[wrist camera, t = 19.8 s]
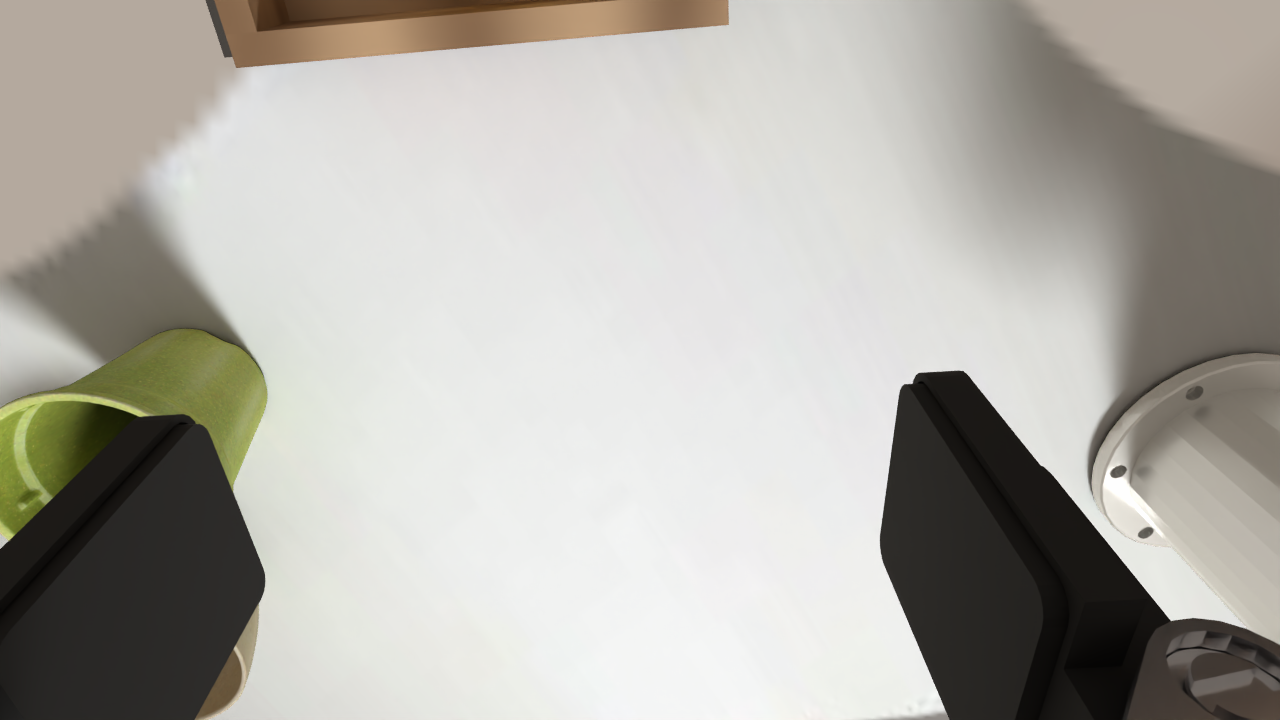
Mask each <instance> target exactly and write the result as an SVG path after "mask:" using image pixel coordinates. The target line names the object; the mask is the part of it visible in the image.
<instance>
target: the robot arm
mask: <svg viewBox="0 0 1280 720" xmlns="http://www.w3.org/2000/svg"><path fill="white" fill-rule="evenodd" d="M1091 484H1092V491H1093V497H1094V500H1095V502H1096V504H1097V506H1098V508H1099V510H1100V512H1101V513H1102V514H1103V515H1104V517H1105V518H1106V519H1107V520H1108V521H1109V523H1110V524H1111V525H1112V526H1113V527H1114V528H1115V529H1116V530H1117V531H1119V532H1120V533H1121V534H1122V535H1124V536H1125V537H1127V538H1129V539H1131V540H1133V541H1135V542H1138V543H1142V544H1147V545H1151V546H1155V547H1172V548H1173V550H1174V551H1175V552H1176V553H1177V554H1178V555H1179V556H1180V557H1181V558H1182V559H1183V560H1184V561H1185V562H1186V564H1187V565H1188V566H1189V567H1190V568H1191V569H1192V570H1193V571H1194V572H1195V573H1196V574H1197V575H1198V576H1199V578H1200V579H1201V580H1202V581H1203V582H1204V583H1205V584H1206V585H1207V586H1208V587H1209V588H1210V589H1211V590H1212V592H1213V593H1214V594H1215V595H1216V596H1217V597H1218V598H1219V599H1220V600H1221V601H1222V602H1223V603H1224V604H1225V606H1226V607H1227V608H1228V609H1229V610H1230V611H1231V612H1232V613H1233V614H1234V615H1235V616H1236V617H1237V618H1238V620H1239V621H1240V622H1241V623H1242V624H1243V625H1244V626H1245V627H1246V628H1247V629H1245V628H1241V627H1238V626H1235V625H1231V624H1228V623H1225V622H1221V621H1215V620H1206V619H1197V618H1190V619H1182V620H1174V621H1170V619H1169V618H1168V617H1167V616H1166V615H1165V613H1164V612H1163V611H1162V610H1161V608H1160V607H1159V606H1158V605H1157V603H1156V602H1155V601H1154V600H1153V599H1152V597H1151V596H1150V595H1149V594H1148V592H1147V591H1146V590H1145V589H1144V587H1143V586H1142V585H1141V584H1140V582H1139V581H1138V580H1137V579H1136V578H1135V576H1134V575H1133V574H1132V573H1131V571H1130V570H1129V569H1128V568H1127V566H1126V565H1125V564H1124V563H1123V562H1122V560H1121V559H1120V558H1119V557H1118V555H1117V554H1116V553H1115V552H1114V550H1113V549H1112V548H1111V547H1110V545H1109V544H1108V543H1107V542H1106V541H1105V539H1104V538H1103V537H1102V536H1101V534H1100V533H1099V532H1098V531H1097V529H1096V528H1095V527H1094V526H1093V525H1092V523H1091V522H1090V521H1089V520H1088V518H1087V517H1086V516H1085V515H1084V513H1083V512H1082V511H1081V510H1080V509H1079V507H1078V506H1077V505H1076V504H1075V502H1074V501H1073V500H1072V499H1071V497H1070V496H1069V495H1068V494H1067V492H1066V491H1065V490H1064V489H1063V488H1062V486H1061V485H1060V484H1059V483H1058V481H1057V480H1056V479H1055V478H1054V476H1053V475H1052V474H1051V473H1050V472H1049V471H1048V470H1047V469H1045V468H1044V467H1043V466H1040V464H1039V463H1038V462H1037V461H1036V459H1035V458H1034V457H1033V456H1032V454H1031V453H1030V452H1029V451H1028V449H1027V448H1026V447H1025V446H1024V445H1023V443H1022V442H1021V441H1020V440H1019V438H1018V437H1017V436H1016V435H1015V433H1014V432H1013V431H1012V430H1011V428H1010V427H1009V426H1008V425H1007V423H1006V422H1005V421H1004V420H1003V418H1002V417H1001V416H1000V415H999V413H998V412H997V411H996V410H995V408H994V407H993V406H992V405H991V403H990V402H989V401H988V400H987V398H986V397H985V396H984V395H983V393H982V392H981V391H980V390H979V388H978V387H977V386H976V385H975V383H974V382H973V381H972V380H971V378H970V377H969V376H968V375H967V374H966V373H965V372H964V371H945V372H927V373H918V374H917V375H916V376H915V378H914V380H913V384H904V385H903V386H902V388H901V390H900V394H899V400H898V407H897V415H896V422H895V430H894V437H893V444H892V452H891V459H890V467H889V474H888V481H887V489H886V496H885V504H884V511H883V518H882V526H881V533H880V549H881V555H882V560H883V563H884V566H885V568H886V570H887V573H888V575H889V578H890V580H891V582H892V585H893V587H894V589H895V592H896V594H897V596H898V599H899V601H900V604H901V606H902V608H903V611H904V613H905V615H906V618H907V620H908V622H909V625H910V627H911V630H912V632H913V634H914V637H915V639H916V641H917V644H918V646H919V648H920V651H921V653H922V656H923V658H924V660H925V663H926V665H927V667H928V670H929V672H930V674H931V677H932V679H933V682H934V684H935V686H936V689H937V691H938V693H939V696H940V698H941V700H942V703H943V705H944V708H945V710H946V712H947V715H948V717H949V719H950V720H1280V355H1274V354H1262V353H1251V354H1240V355H1231V356H1227V357H1223V358H1219V359H1215V360H1211V361H1207V362H1205V363H1202V364H1200V365H1197V366H1195V367H1192V368H1190V369H1187V370H1185V371H1183V372H1181V373H1179V374H1177V375H1175V376H1173V377H1172V378H1170V379H1168V380H1166V381H1164V382H1162V383H1161V384H1159V385H1158V386H1157V387H1155V388H1154V389H1152V390H1151V391H1150V392H1148V393H1147V394H1145V395H1144V396H1143V397H1141V398H1140V399H1139V400H1138V401H1137V402H1136V403H1135V404H1134V405H1133V406H1132V407H1131V408H1129V409H1128V410H1127V411H1126V412H1125V413H1124V414H1123V415H1122V417H1121V418H1120V419H1119V420H1118V422H1117V423H1116V424H1115V425H1114V427H1113V428H1112V429H1111V430H1110V432H1109V433H1108V435H1107V437H1106V439H1105V440H1104V442H1103V444H1102V446H1101V447H1100V449H1099V452H1098V455H1097V457H1096V460H1095V463H1094V466H1093V473H1092V483H1091ZM264 588H265V573H264V569H263V567H262V564H261V562H260V559H259V557H258V554H257V551H256V549H255V546H254V544H253V541H252V539H251V536H250V534H249V531H248V529H247V526H246V524H245V521H244V519H243V516H242V514H241V511H240V509H239V506H238V504H237V501H236V499H235V496H234V494H233V491H232V489H231V486H230V484H229V481H228V479H227V476H226V474H225V471H224V469H223V466H222V464H221V461H220V459H219V456H218V454H217V451H216V449H215V446H214V444H213V441H212V438H211V436H210V434H209V432H208V430H207V428H205V427H204V426H203V425H201V424H196V423H195V421H194V420H193V419H192V418H191V417H190V416H188V415H185V414H175V415H157V416H142V417H137V418H136V419H134V420H133V421H131V422H130V423H129V424H128V425H127V426H126V427H125V428H124V429H123V430H122V431H121V432H120V433H119V434H118V435H117V436H116V437H115V438H114V439H113V440H112V441H111V442H110V443H109V444H108V445H107V446H106V447H105V448H104V449H103V450H101V451H100V452H99V453H98V454H97V455H96V456H95V457H94V458H93V459H92V460H91V461H90V462H89V463H88V464H87V465H86V466H85V467H84V468H83V469H82V470H81V471H80V472H79V473H78V474H77V475H76V476H75V477H74V478H73V479H72V480H71V481H70V482H69V483H68V484H67V485H66V486H65V487H64V488H63V489H62V490H60V491H59V492H58V493H57V494H56V495H55V496H54V497H53V498H52V499H51V500H50V501H49V502H48V503H47V504H46V505H45V506H44V507H43V508H42V509H41V510H40V511H39V512H38V513H37V514H36V515H35V516H34V517H33V518H32V519H31V520H30V521H29V522H28V523H27V524H26V525H25V526H24V527H23V528H22V529H21V530H19V531H18V532H17V533H16V534H15V535H14V536H13V537H12V538H11V539H10V540H9V541H8V542H7V543H6V544H5V545H4V546H3V547H2V548H1V549H0V720H195V718H196V716H197V715H198V713H199V711H200V709H201V707H202V706H203V704H204V702H205V700H206V698H207V696H208V695H209V693H210V691H211V689H212V687H213V686H214V684H215V682H216V680H217V678H218V676H219V675H220V673H221V671H222V669H223V667H224V666H225V664H226V662H227V660H228V658H229V656H230V655H231V653H232V651H233V649H234V647H235V646H236V644H237V642H238V640H239V638H240V636H241V635H242V633H243V631H244V629H245V627H246V625H247V624H248V622H249V620H250V618H251V616H252V615H253V613H254V611H255V609H256V607H257V605H258V604H259V602H260V600H261V598H262V595H263V592H264Z"/></svg>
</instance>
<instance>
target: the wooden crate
mask: <svg viewBox="0 0 1280 720" xmlns="http://www.w3.org/2000/svg"><path fill="white" fill-rule="evenodd" d="M214 1H215V4H216V7H217V10H218V13H219V16H220V19H221V22H222V25H223V29H224V32H225V35H226V38H227V41H228V44H229V47H230V50H231V53H232V56H233V59H234V62H235V66H236V68H241V67H253V66H264V65H275V64H287V63H298V62H309V61H321V60H332V59H344V58H355V57H366V56H378V55H389V54H401V53H412V52H423V51H435V50H446V49H457V48H469V47H480V46H492V45H503V44H514V43H526V42H537V41H549V40H560V39H571V38H583V37H594V36H605V35H617V34H628V33H640V32H651V31H662V30H674V29H685V28H697V27H708V26H719V25H729V17H728V0H214Z"/></svg>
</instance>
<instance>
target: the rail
mask: <svg viewBox="0 0 1280 720" xmlns="http://www.w3.org/2000/svg"><path fill="white" fill-rule="evenodd" d="M206 3H207V6H208V9H209V12H210V15H211V18H212V21H213V24H214V27H215V30H216V33H217V36H218V39H219V42H220V45H221V48H222V51H223V54H224V57H233V56H232V53H231V50H230V47H229V44H228V41H227V38H226V35H225V32H224V29H223V25H222V22H221V19H220V16H219V13H218V10H217V7H216V4H215V1H214V0H206Z"/></svg>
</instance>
